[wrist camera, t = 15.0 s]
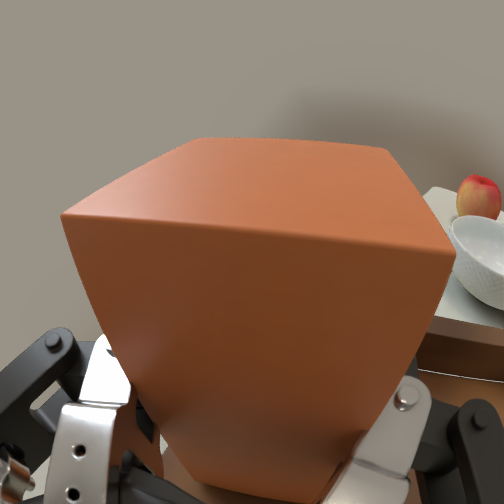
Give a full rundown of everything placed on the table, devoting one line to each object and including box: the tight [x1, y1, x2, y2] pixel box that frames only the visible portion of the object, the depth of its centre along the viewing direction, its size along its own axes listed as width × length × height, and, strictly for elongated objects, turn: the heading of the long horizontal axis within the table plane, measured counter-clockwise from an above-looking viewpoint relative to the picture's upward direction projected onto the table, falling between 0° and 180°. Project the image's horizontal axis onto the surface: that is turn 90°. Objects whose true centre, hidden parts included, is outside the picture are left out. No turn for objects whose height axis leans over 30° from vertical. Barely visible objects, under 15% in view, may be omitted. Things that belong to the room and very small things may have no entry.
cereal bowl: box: [448, 215, 504, 310], centre depth 30 cm, size 17×17×7 cm
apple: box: [456, 175, 501, 220], centre depth 44 cm, size 10×10×10 cm
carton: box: [60, 138, 456, 504], centre depth 8 cm, size 5×5×12 cm
